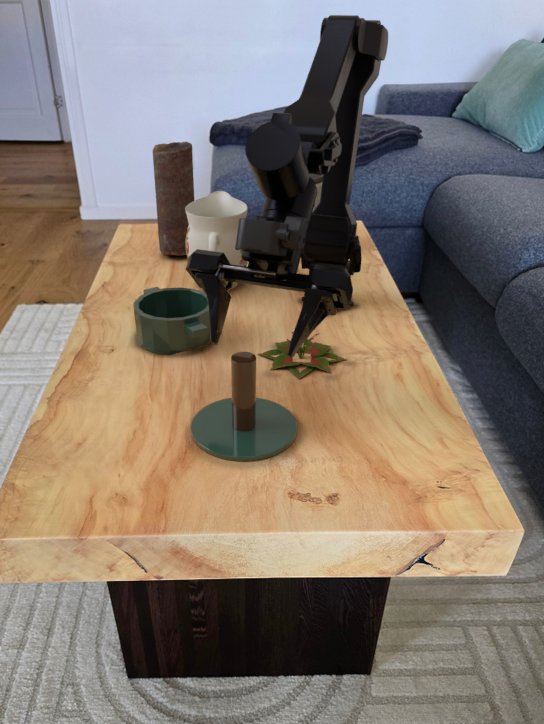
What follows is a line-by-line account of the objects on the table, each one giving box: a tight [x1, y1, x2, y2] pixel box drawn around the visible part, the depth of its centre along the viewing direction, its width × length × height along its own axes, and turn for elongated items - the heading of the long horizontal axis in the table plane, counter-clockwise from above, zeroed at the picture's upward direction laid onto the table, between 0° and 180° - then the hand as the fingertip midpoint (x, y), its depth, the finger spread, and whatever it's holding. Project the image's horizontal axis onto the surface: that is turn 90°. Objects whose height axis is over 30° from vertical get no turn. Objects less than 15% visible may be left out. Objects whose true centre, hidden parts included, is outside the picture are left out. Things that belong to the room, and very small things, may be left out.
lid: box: [190, 351, 298, 462], centre depth 73 cm, size 13×13×10 cm
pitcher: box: [185, 190, 248, 291], centre depth 108 cm, size 11×18×14 cm, turn 177°
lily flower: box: [257, 328, 347, 380], centre depth 88 cm, size 12×12×5 cm
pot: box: [133, 286, 213, 356], centre depth 94 cm, size 12×17×6 cm
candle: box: [152, 141, 195, 257], centre depth 119 cm, size 8×7×20 cm
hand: (251, 349), depth 72 cm, fingers open, 9 cm apart
